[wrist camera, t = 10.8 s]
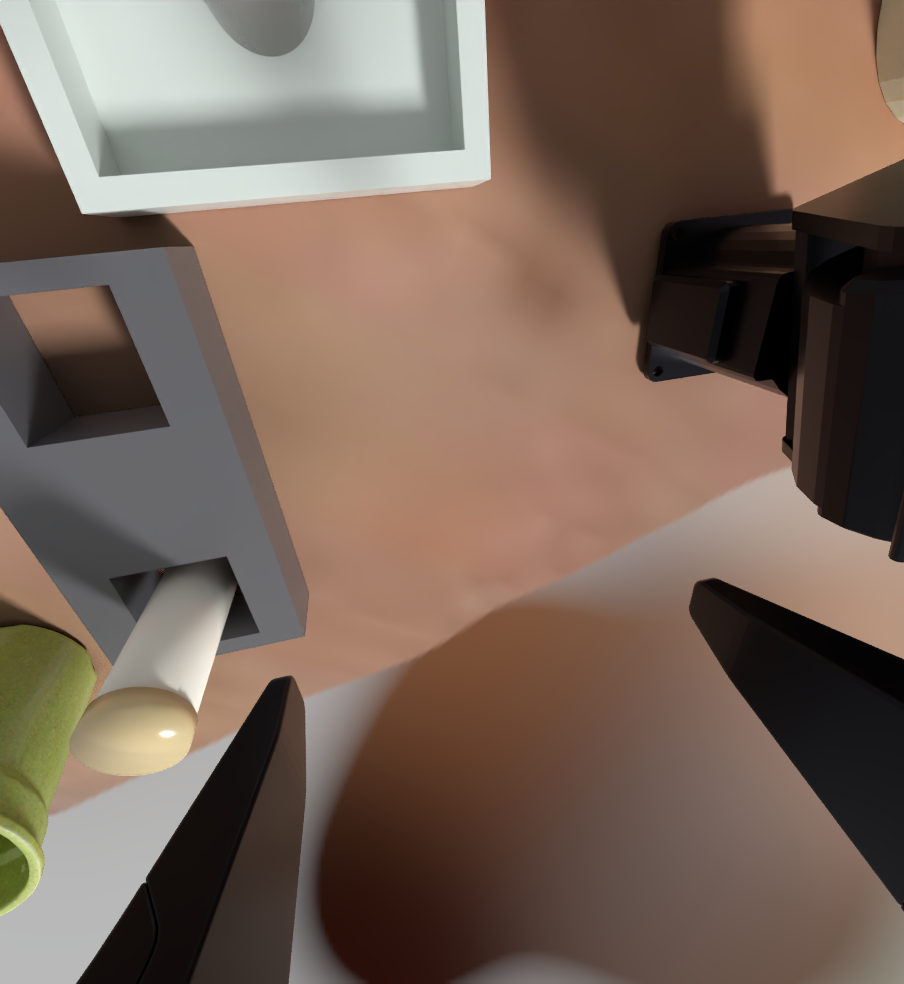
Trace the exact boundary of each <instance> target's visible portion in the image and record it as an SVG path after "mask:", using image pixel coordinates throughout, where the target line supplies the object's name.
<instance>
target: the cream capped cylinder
mask: <svg viewBox="0 0 904 984" xmlns="http://www.w3.org/2000/svg"><path fill="white" fill-rule="evenodd" d="M205 1H206V3H207V5H208V6H209V8H210V10H211V12H212V13H213V15H214V17H215V18H216V20H217V21H218V23H219V24H220V25H221V27H222V28H223V29H224V31H225V32H226V33H227V34H228V35H229V36H230V37H231V38H232V39H233V40H234V41H235V42H237V43H238V44H239V45H241V46H242V47H243V48H245V49H247V50H249V51H251V52H253V53H255V54H258V55H262V56H268V57H276V56H282V55H285V54H287V53H289V52H291V51H293V50H294V49H295V48H297V47H298V46H299V45H300V44H301V42H302V41H303V40H304V38H305V37H306V35H307V33H308V31H309V29H310V26H311V23H312V19H313V14H314V4H315V0H205Z"/></svg>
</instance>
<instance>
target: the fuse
mask: <svg viewBox="0 0 904 984" xmlns="http://www.w3.org/2000/svg"><path fill="white" fill-rule="evenodd" d="M237 584H238V581H237V579H236V577H235V574H234V572H233V570H232V567H231V565H230V563H229V560H228V558H227V556H225V557H220V558H215V559H209V560H204V561H199V562H194V563H188V564H183V565H178V566H173V567H167V568H166V570H165V572H164V574H163V576H162V577H161V579H160V581H159V583H158V585H157V587H156V588H155V590H154V592H153V594H152V596H151V598H150V599H149V601H148V603H147V605H146V607H145V609H144V611H143V612H142V614H141V616H140V618H139V620H138V622H137V623H136V625H135V627H134V629H133V631H132V633H131V634H130V636H129V638H128V640H127V642H126V644H125V645H124V647H123V649H122V651H121V653H120V655H119V656H118V658H117V660H116V662H115V664H114V666H113V667H112V669H111V671H110V673H109V675H108V677H107V678H106V680H105V682H104V684H103V686H102V688H101V689H100V691H99V693H98V695H97V697H96V699H95V700H93V701H92V702H91V703H90V704H89V705H88V706H87V708H86V709H85V711H84V713H83V715H82V717H81V718H80V720H79V722H78V724H77V726H76V727H75V729H74V731H73V733H72V735H71V737H70V740H69V747H70V751H71V753H72V755H73V756H74V757H75V758H76V759H77V760H78V761H79V762H80V763H82V764H83V765H85V766H87V767H88V768H91V769H93V770H95V771H99V772H102V773H106V774H111V775H120V776H137V775H146V774H151V773H156V772H159V771H162V770H165V769H167V768H169V767H171V766H173V765H175V764H177V763H178V762H179V761H181V760H182V759H183V758H184V757H185V756H186V754H187V753H188V751H189V749H190V746H191V743H192V739H193V736H194V733H195V730H196V726H197V722H198V716H197V712H198V709H199V706H200V703H201V699H202V696H203V693H204V690H205V687H206V683H207V680H208V677H209V674H210V671H211V667H212V664H213V661H214V658H215V655H216V651H217V648H218V645H219V642H220V638H221V635H222V632H223V629H224V626H225V622H226V619H227V616H228V613H229V610H230V606H231V603H232V600H233V597H234V594H235V590H236V587H237Z"/></svg>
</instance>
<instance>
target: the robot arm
mask: <svg viewBox="0 0 904 984" xmlns="http://www.w3.org/2000/svg"><path fill="white" fill-rule="evenodd" d="M791 222H792V223H791ZM675 230H677V231H678V235H677V238H676V240H675V241H673V233H674V231H675ZM646 339H647V347H646V355H645V363H644V370H643V371H644V376H645V378H647V379H649V380H651V381H653V382H658V381H664V380H671V379H677V378H683V377H690V376H696V375H702V374H709V373H715V372H716V373H719V374H722V375H725V376H728V377H731V378H734V379H737V380H739V381H742V382H745V383H748V384H751V385H754V386H757V387H759V388H762V389H765V390H768V391H771V392H774V393H777V394H780V395H782V396H785V397H788V400H787V420H786V436H784V437H783V439H782V451H783V453H784V454H785V455H786V456H787V457H788V458H789V459H790V460H791V461H792V472H793V475H794V479H795V482H796V486H797V487H798V488H799V489H800V490H801V491H802V492H803V493H804V494H805V495H806V496H807V497H808V498H809V499H810V500H811V501H812V502H813V503H814V504H815V505H817V506H818V508H817V512H818V514H819V515H820V516H821V517H823V518H825V519H827V520H829V521H831V522H833V523H835V524H837V525H839V526H841V527H843V528H845V529H848V530H851V531H854V532H857V533H860V534H863V535H866V536H869V537H872V538H875V539H879V540H884V541H889V542H891V546H890V551H889V555H888V556H889V558H890V559H892V560H894V561H897V562H904V159H903V160H901V161H899V162H896V163H894V164H892V165H890V166H888V167H885V168H883V169H881V170H879V171H876V172H874V173H872V174H870V175H867V176H865V177H863V178H861V179H859V180H856V181H854V182H852V183H850V184H847V185H845V186H843V187H841V188H838V189H836V190H834V191H832V192H829V193H827V194H825V195H823V196H821V197H818V198H816V199H814V200H812V201H809V202H807V203H805V204H803V205H800V206H798V207H796V208H794V209H785V210H775V211H766V212H756V213H747V214H737V215H728V216H718V217H709V218H699V219H689V220H680V221H673V222H670V223H669V224H667V225H666V226H665V228H664V229H663V231H662V235H661V240H660V248H659V255H658V263H657V271H656V278H655V281H654V283H653V291H652V299H651V306H650V314H649V322H648V330H647V337H646ZM657 366H658V370H657V372H656V373H655V374H653V371H654V369H655V368H656V367H657ZM689 611H690V615H691V617H692V619H693V621H694V622H695V624H696V626H697V627H698V629H699V630H700V632H701V634H702V635H703V637H704V639H705V640H706V642H707V644H708V645H709V647H710V648H711V650H712V652H713V653H714V655H715V656H716V658H717V660H718V661H719V663H720V665H721V666H722V668H723V669H724V671H725V672H726V674H727V675H728V677H729V678H730V680H731V681H732V683H733V684H734V685H735V687H736V688H737V690H738V691H739V692H740V694H741V695H742V696H743V697H744V699H745V700H746V702H747V703H748V704H749V706H750V707H751V708H752V709H753V711H754V712H755V713H756V715H757V716H758V717H759V719H760V720H761V721H762V723H763V724H764V725H765V727H766V728H767V729H768V731H769V732H770V733H771V735H772V736H773V737H774V739H775V740H776V741H777V742H778V744H779V745H780V747H781V748H782V749H783V751H784V752H785V753H786V755H787V756H788V757H789V759H790V760H791V761H792V763H793V764H794V765H795V767H796V768H797V769H798V771H799V772H800V773H801V775H802V776H803V777H804V778H805V780H806V781H807V783H808V784H809V785H810V787H811V788H812V789H813V791H814V792H815V793H816V795H817V796H818V797H819V798H820V800H821V801H822V803H823V804H824V805H825V807H826V808H827V809H828V810H829V812H830V813H831V814H832V816H833V817H834V819H835V820H836V821H837V823H838V824H839V825H840V827H841V828H842V829H843V831H844V832H845V833H846V835H847V836H848V837H849V839H850V840H851V841H852V843H853V844H854V845H855V847H856V848H857V849H858V851H859V852H860V853H861V855H862V856H863V857H864V858H865V860H866V861H867V862H868V864H869V865H870V866H871V868H872V869H873V871H874V872H875V873H876V875H877V876H878V877H879V879H880V880H881V881H882V882H883V884H884V885H885V886H886V888H887V889H888V891H889V892H890V893H891V895H892V896H893V897H894V899H895V900H896V901H897V902H898V904H900V905H901V908H902V910H903V911H904V659H902V658H900V657H897V656H895V655H893V654H890V653H888V652H885V651H883V650H881V649H879V648H876V647H874V646H872V645H869V644H867V643H865V642H862V641H860V640H858V639H856V638H853V637H851V636H849V635H846V634H844V633H842V632H839V631H837V630H835V629H832V628H830V627H828V626H826V625H823V624H821V623H818V622H816V621H814V620H812V619H809V618H807V617H805V616H802V615H800V614H798V613H795V612H793V611H791V610H788V609H786V608H784V607H781V606H779V605H777V604H775V603H772V602H770V601H768V600H765V599H763V598H761V597H758V596H756V595H754V594H751V593H749V592H747V591H745V590H742V589H740V588H738V587H735V586H733V585H730V584H728V583H726V582H723V581H721V580H719V579H716V578H709V579H704V580H700V581H697V582H696V583H695V585H694V588H693V593H692V597H691V601H690V605H689ZM305 738H306V737H305V706H304V701H303V698H302V696H301V693H300V691H299V688H298V686H297V683H296V681H295V679H294V677H293V676H285V677H280V678H276V679H273V680H271V681H270V682H269V684H268V685H267V687H266V688H265V690H264V692H263V693H262V695H261V696H260V698H259V699H258V701H257V703H256V704H255V706H254V707H253V709H252V711H251V712H250V714H249V715H248V717H247V718H246V720H245V722H244V723H243V725H242V726H241V728H240V730H239V731H238V733H237V734H236V736H235V738H234V739H233V741H232V742H231V744H230V745H229V747H228V749H227V750H226V752H225V753H224V755H223V757H222V758H221V760H220V761H219V763H218V764H217V766H216V768H215V769H214V771H213V772H212V774H211V776H210V777H209V779H208V780H207V782H206V783H205V785H204V787H203V788H202V790H201V791H200V793H199V795H198V796H197V798H196V799H195V801H194V802H193V804H192V806H191V807H190V809H189V810H188V812H187V814H186V815H185V817H184V818H183V820H182V822H181V823H180V825H179V827H178V828H177V829H176V831H175V833H174V834H173V836H172V837H171V839H170V841H169V842H168V844H167V845H166V847H165V849H164V850H163V852H162V853H161V855H160V856H159V858H158V860H157V861H156V863H155V864H154V866H153V867H152V869H151V871H150V872H149V874H148V875H147V877H146V883H143V884H142V885H141V886H140V888H139V889H138V891H137V892H136V894H135V896H134V897H133V899H132V900H131V902H130V904H129V905H128V907H127V908H126V910H125V911H124V913H123V915H122V916H121V918H120V919H119V921H118V922H117V924H116V925H115V927H114V928H113V930H112V931H111V933H110V935H109V936H108V937H107V939H106V941H105V942H104V944H103V945H102V947H101V948H100V950H99V951H98V953H97V954H96V956H95V957H94V959H93V960H92V962H91V963H90V965H89V966H88V967H87V969H86V970H85V972H84V973H83V974H82V976H81V977H80V979H79V980H78V982H77V983H76V984H288V982H289V973H290V962H291V952H292V941H293V930H294V919H295V908H296V898H297V886H298V876H299V865H300V854H301V843H302V833H303V822H304V811H305V799H306V739H305Z"/></svg>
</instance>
